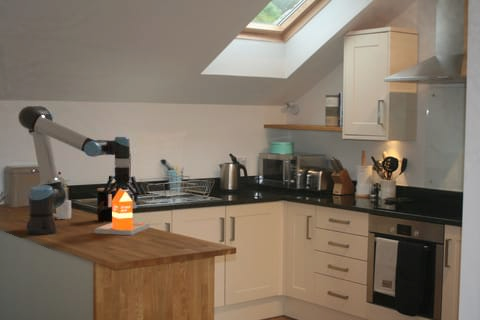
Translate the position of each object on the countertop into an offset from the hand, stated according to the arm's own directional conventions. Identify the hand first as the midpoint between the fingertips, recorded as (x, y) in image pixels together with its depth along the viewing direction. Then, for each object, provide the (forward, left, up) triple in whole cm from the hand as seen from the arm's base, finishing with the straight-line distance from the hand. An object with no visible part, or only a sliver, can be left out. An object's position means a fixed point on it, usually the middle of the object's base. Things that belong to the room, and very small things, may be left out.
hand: (121, 207), depth 359 cm
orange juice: (0, 0, -11) cm, 11 cm away
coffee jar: (+28, +22, -12) cm, 37 cm away
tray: (0, 0, -12) cm, 12 cm away
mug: (+26, +50, -12) cm, 57 cm away
